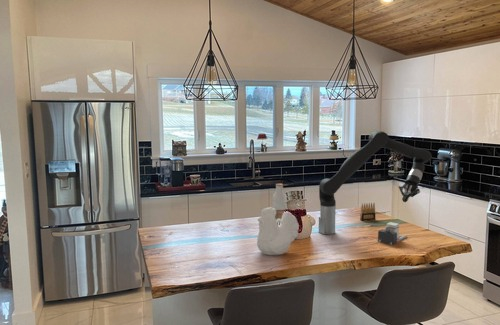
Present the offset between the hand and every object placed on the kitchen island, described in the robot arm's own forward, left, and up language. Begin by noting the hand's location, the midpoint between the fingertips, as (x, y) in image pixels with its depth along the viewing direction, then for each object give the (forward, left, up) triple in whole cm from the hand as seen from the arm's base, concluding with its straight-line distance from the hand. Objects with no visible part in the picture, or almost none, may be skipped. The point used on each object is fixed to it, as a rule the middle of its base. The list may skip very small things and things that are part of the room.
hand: (404, 201), depth 231 cm
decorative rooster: (-78, +8, -22) cm, 82 cm away
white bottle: (-54, +52, -22) cm, 78 cm away
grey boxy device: (-12, -4, -22) cm, 25 cm away
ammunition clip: (+8, +39, -22) cm, 46 cm away
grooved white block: (-13, -5, -20) cm, 24 cm away
